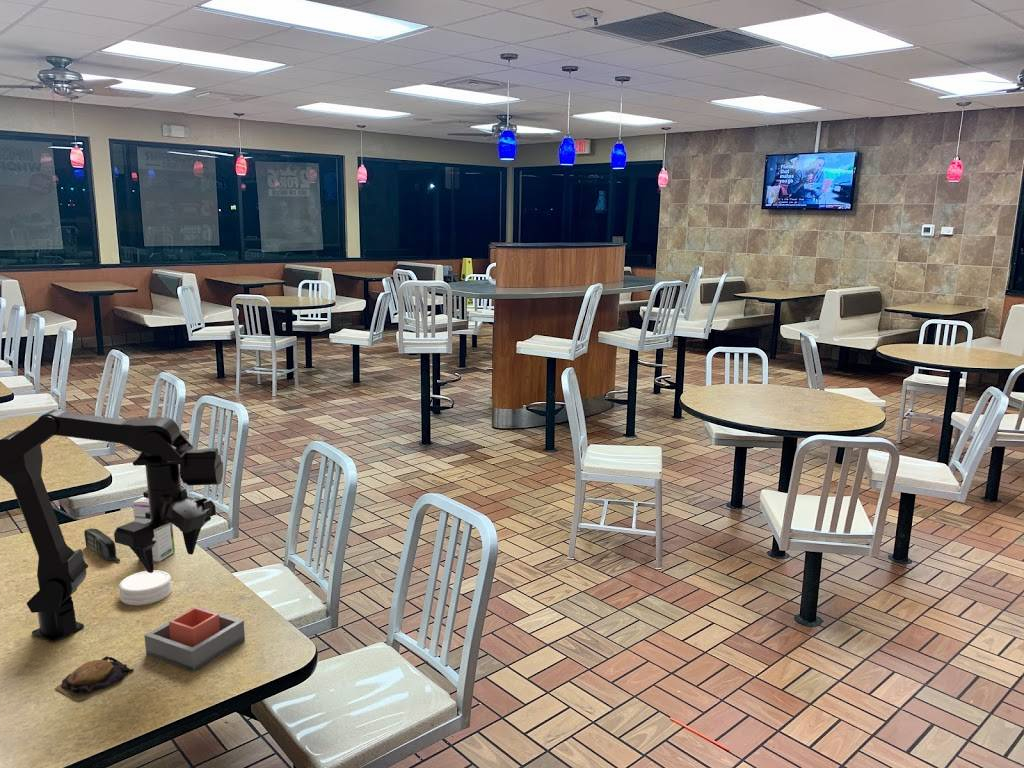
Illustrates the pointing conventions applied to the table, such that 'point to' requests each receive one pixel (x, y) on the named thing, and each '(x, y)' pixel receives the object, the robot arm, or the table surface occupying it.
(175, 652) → the big crate
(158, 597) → the white round container
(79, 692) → the bread roll
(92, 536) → the mobile phone
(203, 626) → the small crate
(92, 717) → the table surface
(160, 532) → the syrup box
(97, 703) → the table surface
